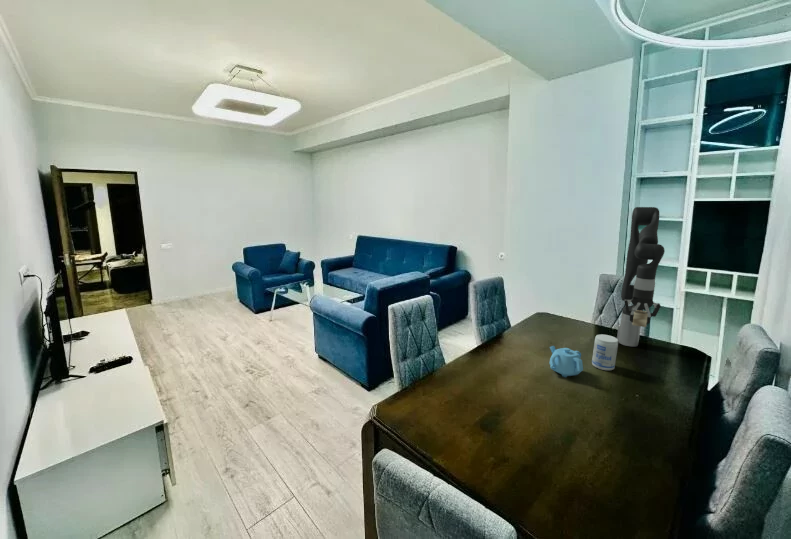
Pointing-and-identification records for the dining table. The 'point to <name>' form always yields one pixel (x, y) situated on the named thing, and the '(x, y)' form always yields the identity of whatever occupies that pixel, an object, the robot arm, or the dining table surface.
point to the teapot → (566, 361)
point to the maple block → (640, 318)
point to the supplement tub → (605, 352)
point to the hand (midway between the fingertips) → (639, 322)
